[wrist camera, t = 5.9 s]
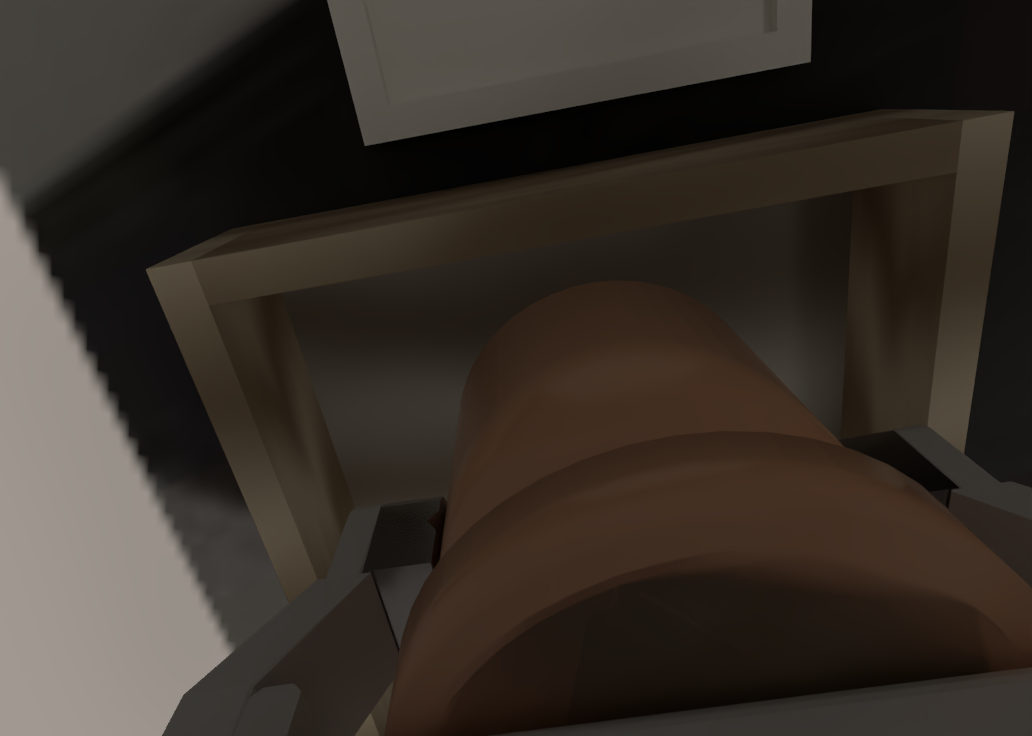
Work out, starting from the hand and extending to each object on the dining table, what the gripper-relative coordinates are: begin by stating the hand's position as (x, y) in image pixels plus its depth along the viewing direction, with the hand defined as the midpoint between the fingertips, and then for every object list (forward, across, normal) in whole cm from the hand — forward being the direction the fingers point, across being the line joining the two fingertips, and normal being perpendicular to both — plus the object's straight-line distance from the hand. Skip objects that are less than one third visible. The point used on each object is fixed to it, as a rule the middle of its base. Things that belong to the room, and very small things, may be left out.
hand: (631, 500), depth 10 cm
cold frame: (+9, 0, +6) cm, 11 cm away
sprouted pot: (+2, 0, 0) cm, 2 cm away
